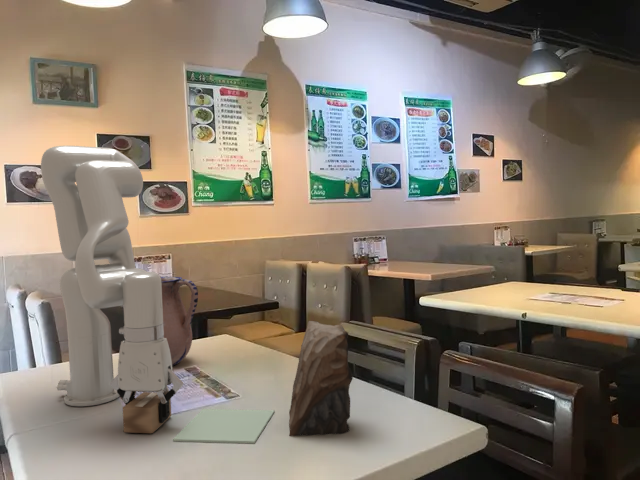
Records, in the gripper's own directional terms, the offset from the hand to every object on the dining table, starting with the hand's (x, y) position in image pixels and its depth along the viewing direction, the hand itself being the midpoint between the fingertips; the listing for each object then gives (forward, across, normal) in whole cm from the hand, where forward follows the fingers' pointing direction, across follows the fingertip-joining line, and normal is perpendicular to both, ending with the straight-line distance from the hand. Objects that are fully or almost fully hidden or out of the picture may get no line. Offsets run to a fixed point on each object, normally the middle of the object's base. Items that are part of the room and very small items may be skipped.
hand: (148, 419), depth 114 cm
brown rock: (+1, +34, +2) cm, 34 cm away
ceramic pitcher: (+2, -16, +45) cm, 47 cm away
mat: (+1, +16, +1) cm, 16 cm away
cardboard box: (+1, 0, 0) cm, 1 cm away
